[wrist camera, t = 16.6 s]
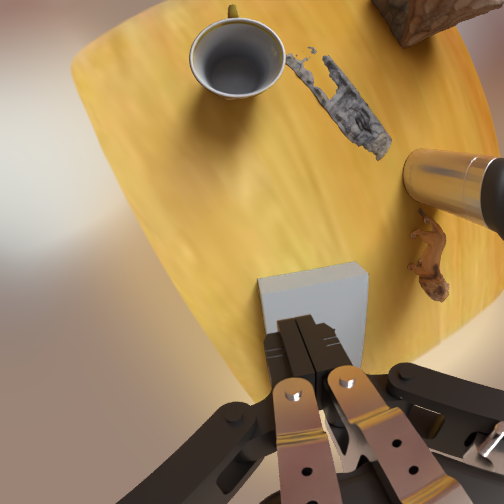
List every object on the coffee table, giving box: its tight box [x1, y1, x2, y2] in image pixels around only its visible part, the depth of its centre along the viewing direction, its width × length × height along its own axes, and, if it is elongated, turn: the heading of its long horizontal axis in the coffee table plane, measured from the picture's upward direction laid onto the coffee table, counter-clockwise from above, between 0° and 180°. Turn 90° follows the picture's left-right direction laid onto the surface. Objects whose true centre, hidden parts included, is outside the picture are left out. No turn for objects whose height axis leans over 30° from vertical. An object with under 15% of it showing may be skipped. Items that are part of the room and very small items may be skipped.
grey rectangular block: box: [258, 262, 369, 368], centre depth 45 cm, size 16×22×5 cm
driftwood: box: [285, 47, 392, 161], centre depth 35 cm, size 21×7×2 cm, turn 40°
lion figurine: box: [408, 208, 449, 302], centre depth 40 cm, size 15×5×9 cm, turn 13°
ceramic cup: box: [189, 5, 286, 100], centre depth 28 cm, size 13×10×10 cm
